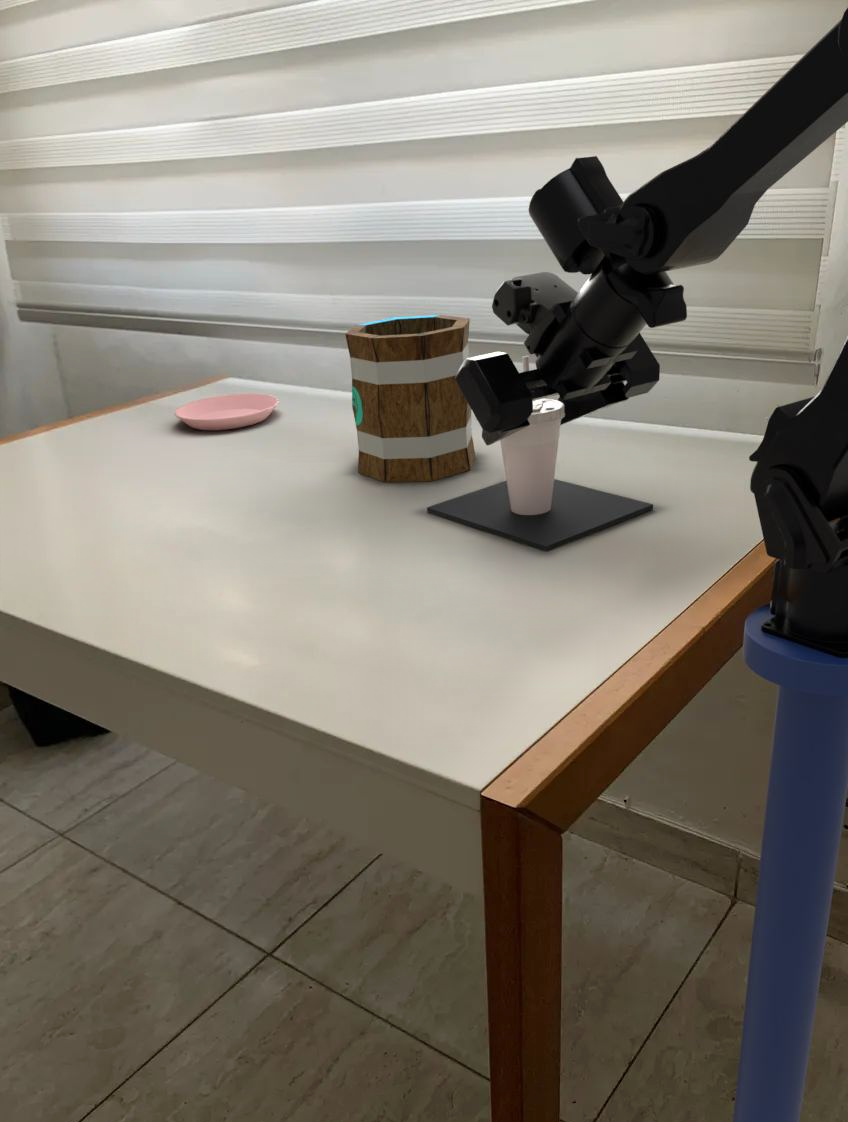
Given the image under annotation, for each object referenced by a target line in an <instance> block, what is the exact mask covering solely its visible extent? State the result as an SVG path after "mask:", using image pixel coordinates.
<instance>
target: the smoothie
mask: <svg viewBox="0 0 848 1122" xmlns="http://www.w3.org/2000/svg"><path fill="white" fill-rule="evenodd" d="M526 371H530V356H529V355H522V372H526ZM557 400H558V399H553V398H543V399H539V400H535V401H533V413H532V414H531V415H530V416H529V418H528V421H529V423H530V425H529V426H527V427H525V428H524V429H522V430H520V431H517V432H515V433H513V434H511V435H509V436H507V437H505V438H503V439H501V440H500V442H499V443H500V448H501V454H502V460H503V466H504V472H505V474H504V475H505V481H507V486H508V493H509V499H510V506H511V511H512V512H514V513H516V514H520V515H538V514H542V513H546V512H548V511H549V510H550V509H551V502H552V493H553V485H554V479H555V476H556V475H555V474H556V466H557V459H558V450H559V440H560V434H561V433H560V432H561V426H560V424H561V419H562V418H563V417H565V413H564V404H563V403H562V402H560V401H557Z"/></svg>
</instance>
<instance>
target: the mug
mask: <svg viewBox="0 0 848 1122" xmlns="http://www.w3.org/2000/svg"><path fill="white" fill-rule="evenodd" d="M470 322H471V319H470V318H469V317H461V316H453V315H445V314H432V315H431V314H430V315H417V316H415V315H413V316H411V315H410V316H397V317H396V316H395V317H390V318H383V319H380V320H375V321H369V322H364V323H359V324H355V325H354V326H352V327H351V328H350V329H348V331H346V332H345V333H344V335H345V339H346V345H347V349H348V354H349V360H350V361H349V363H350V371H351V407H352V412H353V415H354V416H353V417H354V418H353V419H354V422H355V428H356V434H357V447H358V457H357V458H358V459H357V460H358V461H357V464H358V465H357V472H358V474H361V475H364V476H366V477H369V478H372V479H374V480H376V481H380V482H382V483H402V482H403V483H406V482H407V483H409V482H434V481H437V480H440V479H444V478H448V477H452V476H454V475H458V474H461V473H464V472H468V471H471V469H472V467H473V464H474V461H475V459H476V451H475V446H474V445H475V443H474V439H473V422H472V409H471V408H470V406H469V404H468V402H467V400H466V399H465V397H464V395H463V393H462V392H461V390H460V388H459V386H458V384H457V383H456V381H455V377H456V374H457V372H458V370H459V369H460V367H461V365H462V364H463V362H464V360H465V359H466V358H470V357H469V356H470V355H469V336H470Z"/></svg>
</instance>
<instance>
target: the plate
mask: <svg viewBox="0 0 848 1122" xmlns="http://www.w3.org/2000/svg"><path fill="white" fill-rule="evenodd" d="M279 402H280V401H279V399H278V397H276V396H273V395H269V394H264V393H263V394H262V393H237V394H236V393H234V394H225V395H216V396H211V397H207V398H201V399H198V400H194V401H191V402H188V403H185V404H183V405H181V406H179V407H177V408H176V409H175V411H174V416H175V417H176V418H178V419H179V420H180V421H182V422H183V423H185V424H186V425H187V426H189V427H190V428H192V429H195V430H200V431H227V430H235V429H240V428H245V427H249V426H254V425H256V424H259V423H261V422H263V421H265V420H266V419H267V418H268V417H269V416H270V415H271V414H272V413H273V411H274V410H275V408H276V407H278V405H279Z"/></svg>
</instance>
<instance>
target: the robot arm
mask: <svg viewBox="0 0 848 1122" xmlns="http://www.w3.org/2000/svg"><path fill="white" fill-rule="evenodd" d="M847 123H848V7H846V9H845V10H844V12H843V15H842V17H841V19H840V20H839V21H838V22H837V23H836V24H835V25H834V26H833V27H832V28H831V29H830V30H829V31H828V32H827V33H825V35H824V36H822V38H820V39H819V40H818V41H817V42H816V43H815V44H814V45H813V46H812V47H811V48H810V49H809V50H808V51H807V52H806V53H805V54H803V56H802V57H800V59H798V61H796V63H795V64H794V65H793V66H792V67H791V68H789V70H788V71H786V72H785V73H784V74H783V75H782V76H781V77H779V79H778V80H777V81H776V82H775V83H774V84H773V85H772V86H771V87H769V88H768V90H767V91H766V92H765V93H764V94H763V95H761V96H760V97H759V98H758V99H757V101H755V102H754V103H753V104H752V105H751V106H750V107H749V108H748V109H747V110H746V111H745V112H744V113H743V114H742V115H741V116H739V118H738V119H737V120H736V121H734V123H732V124H731V126H730V127H728V128H727V130H725V131H724V132H723V133H722V134H721V135H720V136H719V137H718V138H717V139H716V140H715V141H714V142H713V143H712V144H711V145H709V146H708V147H707V148H706V149H704V150H702V151H701V152H700V153H698V154H697V155H694V156H693V157H691V158H689V159H686V160H685V161H682V162H680V163H678V164H676V165H674V166H672V167H669V168H668V169H665V170H663V171H662V172H660V173H658V174H657V175H656V176H654V177H653V178H651V179H649V180H648V181H647V182H645V183H643V184H642V185H640V186H639V187H637V189H634V190H633V191H632V192H631V193H629V194H628V195H627V196H626V198H625V199H624V200H623V199H622V197H621V195H620V194H619V192H618V191H617V189H616V188H615V187H614V185H613V183H612V181H611V180H610V179H609V176H608V175H607V172H606V170H605V168H604V165H603V164H602V162H601V160H600V159H599V158H598V156H597V155H589V156H579V157H575V158H574V160H573V162H572V163H571V165H570V167H569V168H567V169H565V170H563V171H561V172H559V173H557V174H556V175H555V176H553V177H552V178H551V179H549V181H547V182H546V183H545V184H544V185H543V186H542V187H541V188H539V189H537V190H536V191H534V194H533V195H532V197H531V199H530V201H529V204H528V208H527V211H528V216H529V217H530V218H531V220H532V221H533V223H534V225H535V226H536V228H537V230H538V232H539V233H540V234H541V236H542V238H543V240H544V241H545V243H546V245H547V246H548V248H549V250H551V253H552V254H553V256H554V258H555V260H557V263H558V264H559V265H560V267H561V269H562V270H563V271H564V273H568V274H576V273H580V274H582V275H585V276H586V275H589V277H588V279H587V280H586V282H585V283H584V284H583V286H582V288H581V289H580V290H579V292H578V291H577V290H576V289H575V288H573V287H572V286H571V285H569V284H568V283H567V282H566V281H564V280H563V279H562V278H561V277H560V276H558V275H557V274H556V273H553V272H550V271H542V272H536V273H530V274H524V275H517V276H514V277H512V278H511V279H506V280H504V281H503V282H502V284H501V285H500V286H499V287H498V289H497V290H496V291H495V293H494V296H493V300H492V304H491V309H492V312H493V314H494V315H495V316H496V317H497V318H498V319H500V320H501V321H502V322H503V323H504V324H505V325H506V326H512V325H516V326H517V327H518V328H520V329H521V331H523V332H524V333H525V334H527V335H528V336H527V337H526V338H525V340H524V342H523V344H524V346H525V349H526V350H527V352H528V354H529V355H535V356H536V359H535V367H536V369H531V370H530V369H529V371H526V372H523V371H522V372H519V370H518V368H517V367H516V364H515V363H514V362H513V360H512V358H511V356H510V355H509V353H508V352H503V351H502V352H501V351H494V352H491V353H485V354H481V355H476V356H472V357H469V358H466V359H465V360H464V362H463V364H462V365H461V367H460V369H459V370H458V372H457V374H456V377H455V381H456V383H457V384H458V386H459V388H460V390H461V392H462V393H463V395H464V397H465V399H466V400H467V402H468V404H469V406H470V408H471V412H472V414H473V415H474V416H475V418H476V420H477V422H478V424H479V426H480V428H481V429H482V430H481V438H482V440H483V442H484V443H485V446H491V445H493V444H496V443H497V442H499V441H500V440H501V439H503V438H505V437H507V436H509V435H511V434H513V433H515V432H517V431H520V430H522V429H524V428H525V427H527V426H529V425H530V423H529V421H528V418H529V416H530V415H531V414H532V413H533V401H535V400H539V399H548V398H550V397H555V396H559V397H558V399H556V400H557V401H560V402H562V403H563V404H564V413H565V417H563V418H562V419H561V424H560V427H561V426H563V425H565V424H568V423H571V422H574V421H576V420H578V419H581V418H583V417H586V416H588V415H589V416H590V415H591V414H594V413H597V412H599V411H602V410H604V409H606V408H610V407H612V406H614V405H618V404H620V403H623V402H626V401H628V400H629V399H630V398H634V397H638V396H642V395H645V394H649V392H650V391H651V390H652V389H653V388H654V387H655V386H656V385H657V383H659V381H660V374H661V372H660V371H661V370H660V369H661V365H660V363H659V362H658V359H657V358H656V356H655V355H654V353H653V352H652V350H651V349H650V347H649V346H648V344H647V342H646V341H645V338H644V337H643V336H642V334H641V331H642V330H643V329H644V328H645V327H646V325H647V326H648V328H651V329H654V328H658V327H663V326H667V325H672V324H678V323H681V322H684V321H686V320H687V317H688V309H687V303H686V301H685V298H684V293H685V292H684V291H685V286H683V284H674V282H673V281H672V279H671V277H670V276H669V274H668V273H667V272H669V271H674V270H679V269H685V268H690V267H696V266H701V265H706V264H710V263H712V262H714V261H716V260H718V258H720V257H721V256H722V255H723V254H724V252H725V251H726V250H727V249H728V248H729V247H730V246H731V245H732V243H733V242H734V241H735V240H736V239H737V238H738V236H739V235H740V234H741V233H742V232H743V231H744V229H745V228H746V227H747V226H748V224H749V222H750V221H751V220H750V219H751V217H752V214H753V213H754V209H755V206H756V204H757V203H758V202H759V200H760V199H762V197H764V195H765V193H766V192H767V191H768V190H769V189H771V188H772V186H774V185H775V184H777V182H778V181H780V180H781V179H782V178H783V177H784V176H785V175H787V174H788V173H789V172H790V171H792V169H794V168H795V167H796V166H797V165H798V164H800V163H801V162H802V161H804V160H805V159H806V158H807V157H808V156H809V155H811V154H812V153H813V152H814V151H815V150H816V149H818V148H819V147H820V146H821V145H823V143H825V141H827V140H828V139H829V138H831V137H832V136H833V135H834V134H835V133H836V132H837V131H839V130H840V129H841V128H842V127H844V126H845V125H846V124H847ZM625 382H626V383H625ZM748 458H749V461H750V462H754V463H755V462H756V463H755V465H754V467H753V468H752V472H751V476H750V480H749V490H750V492H751V493H752V494H753V495H754V496H753V497H754V500H755V505H756V509H757V515H758V519H759V523H760V524H759V525H760V528H761V532H762V537H763V542H764V547H765V552H766V554H767V556H768V557H771V558H773V559H777V560H776V561H774V564H773V565H774V566H773V576H772V586H771V597H770V603H771V605H770V612H771V614H772V615H774V616H775V617H773V618H771V619H769V620H767V621H765V622H763V623H762V624H761V631H762V632H764V633H767V634H770V635H773V636H776V637H779V638H782V639H785V640H788V641H791V642H794V643H797V644H800V645H803V646H806V647H809V648H812V649H815V650H818V651H821V652H824V653H827V654H829V655H832V656H835V657H839V658H848V336H846V338H845V341H844V342H843V345H842V347H841V349H840V351H839V353H838V355H837V357H836V359H835V361H834V363H833V365H832V367H831V369H830V371H829V373H828V375H827V377H826V379H825V381H824V384H823V386H822V387H821V389H820V390H819V392H817V394H816V395H814V396H810V397H807V398H803V399H801V400H797V401H793V402H790V403H787V404H783V405H779V406H777V407H775V408H774V410H773V412H772V413H771V415H770V416H769V418H768V421H767V425H766V428H765V432H764V435H763V437H762V441H761V442H760V444H759V446H758V447H757V449H756V450H755V451H754V452H753V453H751V454H750V455H749V457H748ZM838 519H839V520H838Z"/></svg>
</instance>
